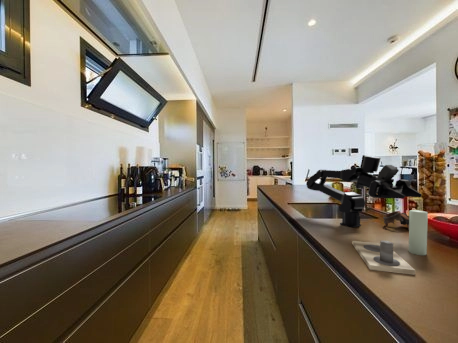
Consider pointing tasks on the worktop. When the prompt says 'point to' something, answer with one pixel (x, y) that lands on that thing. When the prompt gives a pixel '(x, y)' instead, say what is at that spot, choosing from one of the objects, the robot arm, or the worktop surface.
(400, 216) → the dark brown curved piece
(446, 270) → the worktop surface
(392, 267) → the board
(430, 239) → the worktop surface
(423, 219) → the sage pin
